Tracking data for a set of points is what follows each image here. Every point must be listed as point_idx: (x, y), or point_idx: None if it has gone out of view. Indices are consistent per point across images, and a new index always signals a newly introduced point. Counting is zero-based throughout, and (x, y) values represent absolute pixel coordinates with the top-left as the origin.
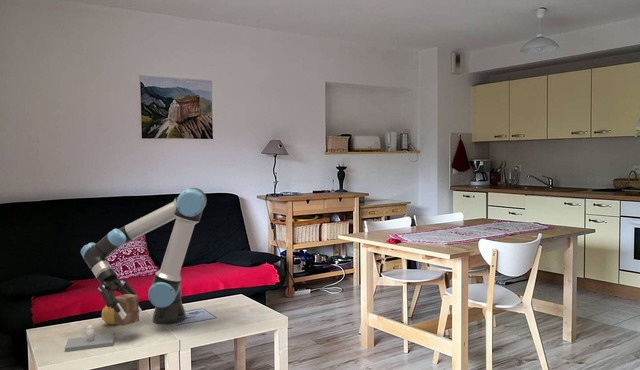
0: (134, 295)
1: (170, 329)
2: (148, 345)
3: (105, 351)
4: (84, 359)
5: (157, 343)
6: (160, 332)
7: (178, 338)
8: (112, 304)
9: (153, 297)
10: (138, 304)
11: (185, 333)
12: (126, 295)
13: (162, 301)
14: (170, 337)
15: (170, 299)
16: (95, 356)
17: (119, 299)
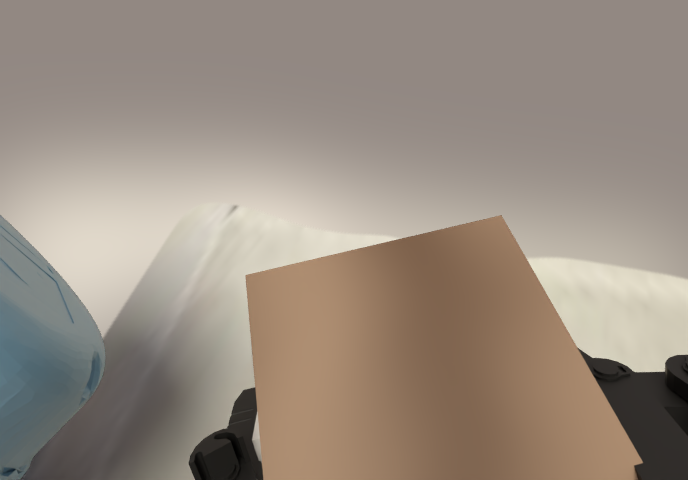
0: (282, 307)
1: (136, 378)
2: (358, 237)
3: (554, 307)
4: (668, 276)
5: (318, 233)
6: (203, 373)
7: (223, 226)
8: (643, 374)
9: (57, 314)
10: (244, 391)
11: (157, 260)
12: (375, 448)
13: (52, 279)
14: (232, 261)
15: (9, 224)
16: (611, 276)
17: (554, 326)
